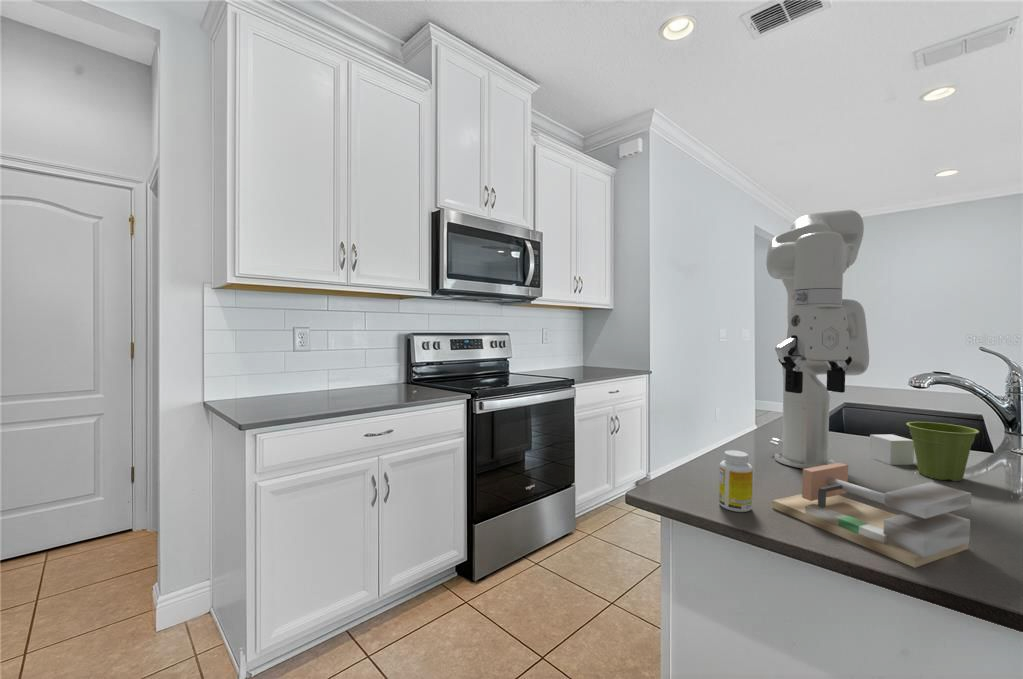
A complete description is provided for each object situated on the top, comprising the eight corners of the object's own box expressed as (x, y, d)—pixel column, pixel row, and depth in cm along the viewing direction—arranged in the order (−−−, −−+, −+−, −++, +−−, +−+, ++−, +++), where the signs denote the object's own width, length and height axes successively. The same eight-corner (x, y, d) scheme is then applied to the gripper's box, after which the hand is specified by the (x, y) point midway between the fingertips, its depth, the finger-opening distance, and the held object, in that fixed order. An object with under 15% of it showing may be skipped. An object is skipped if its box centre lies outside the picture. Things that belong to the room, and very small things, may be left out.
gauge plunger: (798, 499, 80) (799, 469, 80) (838, 490, 84) (838, 462, 84) (895, 535, 67) (896, 500, 66) (937, 523, 71) (938, 489, 71)
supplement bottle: (758, 509, 83) (760, 455, 83) (738, 515, 81) (739, 459, 80) (732, 499, 88) (733, 447, 88) (712, 504, 86) (713, 451, 85)
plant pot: (974, 475, 102) (976, 426, 101) (979, 490, 93) (982, 436, 93) (904, 464, 110) (906, 418, 109) (904, 477, 101) (905, 427, 101)
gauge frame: (772, 508, 84) (773, 460, 84) (821, 497, 89) (823, 452, 89) (919, 569, 63) (921, 506, 63) (972, 550, 68) (975, 492, 68)
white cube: (869, 457, 116) (869, 434, 115) (891, 457, 116) (892, 434, 116) (890, 465, 110) (891, 440, 109) (913, 464, 110) (914, 440, 110)
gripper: (796, 297, 78) (794, 395, 78) (873, 300, 82) (871, 394, 83) (762, 300, 85) (760, 390, 86) (835, 303, 90) (832, 389, 90)
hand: (814, 392), depth 84 cm, fingers open, 9 cm apart
